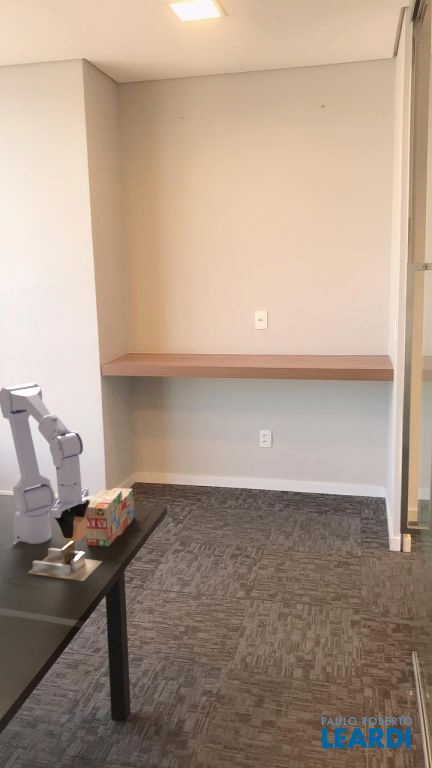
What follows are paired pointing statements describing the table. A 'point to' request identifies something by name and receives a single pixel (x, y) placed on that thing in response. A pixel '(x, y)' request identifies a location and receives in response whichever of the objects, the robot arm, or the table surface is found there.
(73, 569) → the sliding carriage
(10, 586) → the table surface
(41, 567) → the channel deck
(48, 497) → the robot arm
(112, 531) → the stack of blocks
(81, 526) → the terracotta block
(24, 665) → the table surface
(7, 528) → the table surface
